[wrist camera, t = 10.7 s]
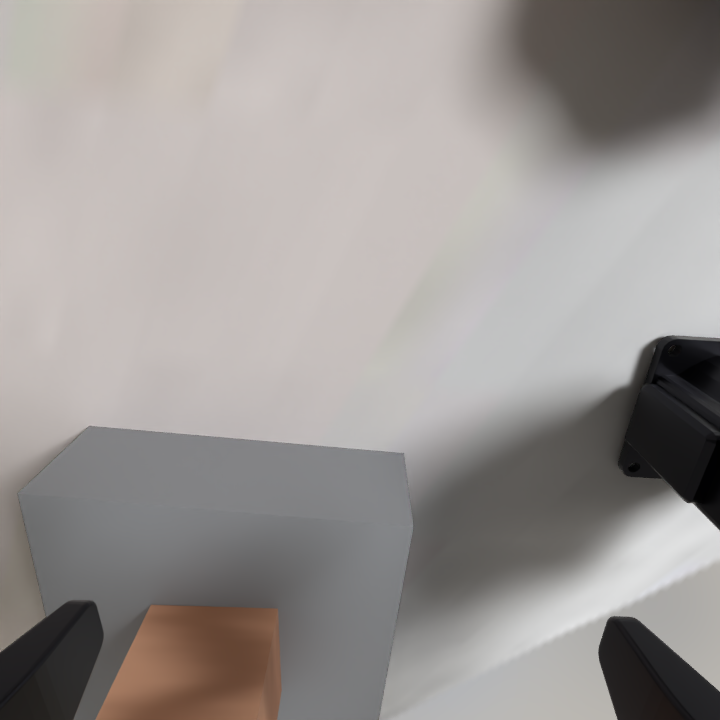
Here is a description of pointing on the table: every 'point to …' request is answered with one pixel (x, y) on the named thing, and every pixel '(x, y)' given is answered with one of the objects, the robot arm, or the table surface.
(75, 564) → the gray block
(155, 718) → the terracotta cube
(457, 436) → the table surface
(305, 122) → the table surface
